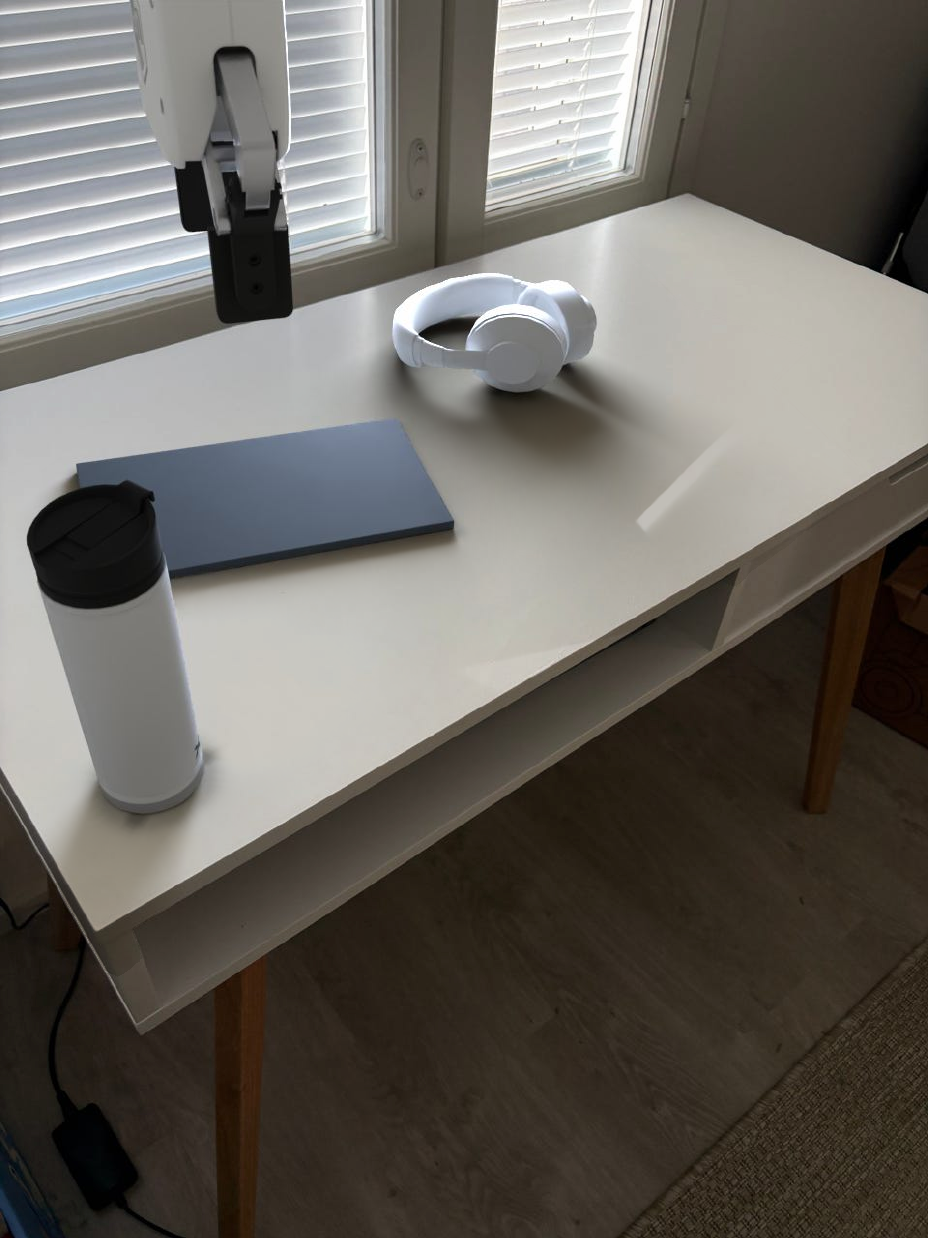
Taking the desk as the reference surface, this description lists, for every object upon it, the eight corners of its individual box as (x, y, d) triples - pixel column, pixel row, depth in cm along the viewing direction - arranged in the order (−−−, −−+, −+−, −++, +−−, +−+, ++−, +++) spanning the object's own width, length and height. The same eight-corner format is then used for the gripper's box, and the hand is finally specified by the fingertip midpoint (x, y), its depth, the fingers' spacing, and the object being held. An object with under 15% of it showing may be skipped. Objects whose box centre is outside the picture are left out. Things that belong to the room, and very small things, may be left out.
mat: (95, 592, 74) (92, 584, 74) (77, 471, 85) (75, 463, 84) (454, 528, 82) (454, 520, 81) (396, 424, 93) (396, 417, 92)
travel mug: (229, 761, 63) (188, 504, 50) (152, 833, 59) (84, 574, 46) (157, 717, 66) (98, 460, 52) (78, 783, 62) (-9, 523, 48)
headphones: (624, 348, 104) (466, 314, 114) (627, 273, 99) (462, 244, 109) (528, 422, 93) (361, 377, 103) (526, 341, 88) (352, 302, 98)
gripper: (57, -233, 40) (128, 205, 52) (101, -178, 28) (180, 371, 40) (247, -223, 42) (274, 195, 54) (360, -169, 30) (363, 349, 42)
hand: (234, 269), depth 47 cm, fingers open, 9 cm apart
